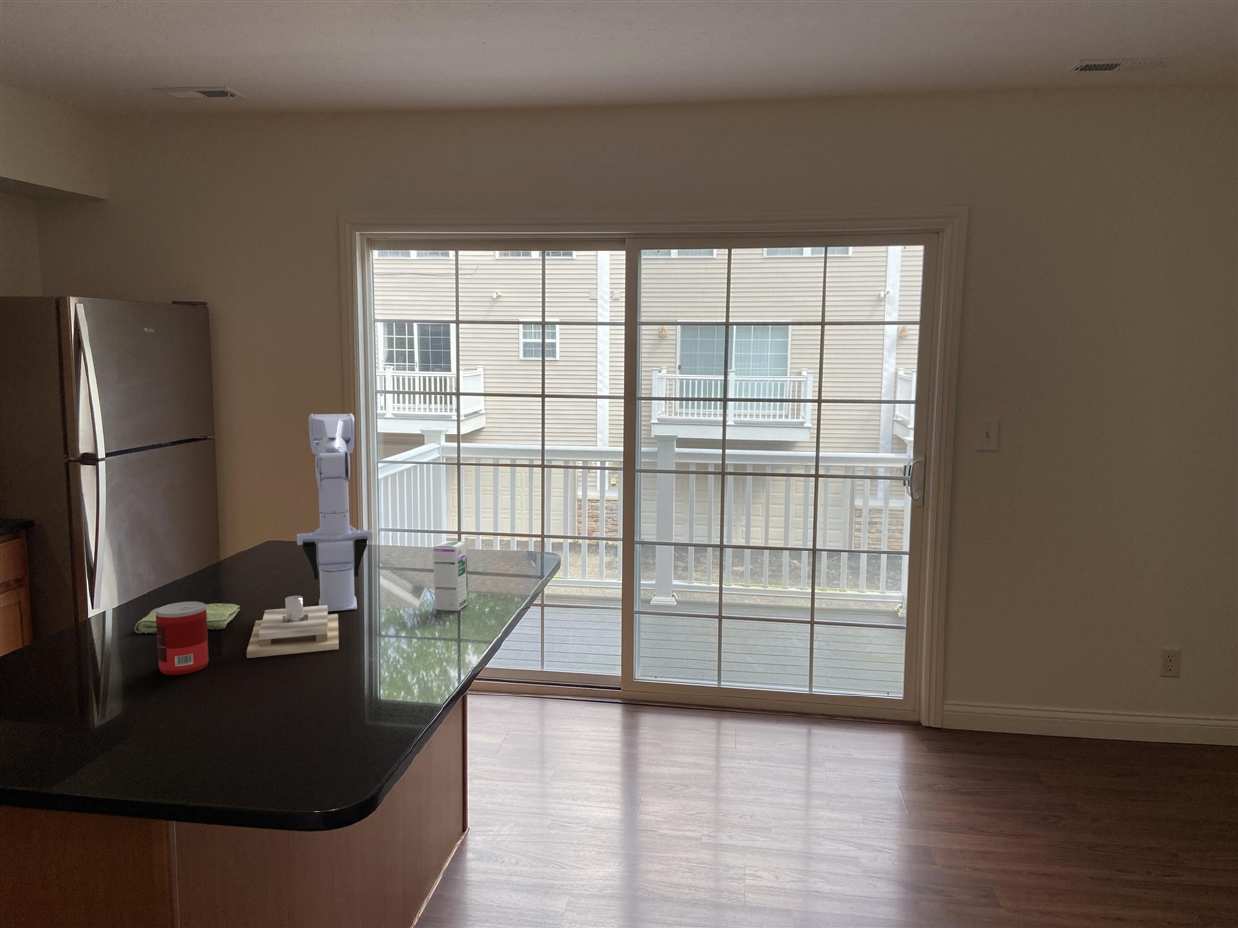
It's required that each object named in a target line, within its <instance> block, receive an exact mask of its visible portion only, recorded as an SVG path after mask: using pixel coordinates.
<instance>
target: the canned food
mask: <svg viewBox="0 0 1238 928" xmlns="http://www.w3.org/2000/svg"><path fill="white" fill-rule="evenodd" d="M157 608H158V609H157V610H156V630H157V633H156V642H157V656H158V658H157V659H158V669H159V671H160V672H161V673H162V674H164V675H169V676H179V675H188V674H191V673H195V672H198V671H199V672H200V670H203V669H204V668H206V667H207V666H208V664H209V659H210V658H209V657H210V656H209V655H210V653H209V636H208V635H209V633H208V632H209V631H208V630H207V613H206V604H205V603H204V602H200V601H181V602H174V603H169V604H166V605H163V606H161V607H157Z"/></svg>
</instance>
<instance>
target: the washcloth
mask: <svg viewBox="0 0 1238 928" xmlns="http://www.w3.org/2000/svg"><path fill="white" fill-rule="evenodd" d="M158 608H159V607H157V608H154V609H152V610H151V611H150V612H149V613H148V614H147V615H146V616H145V617H143V618H142V619H141V620H139V621H137V623H136V624H135V626H134V632H136V634H139V633H140V634H139V635H142V634H141V633H145V634H144V635H147V633H152V634H157V630H156V610H157V609H158ZM240 609H241V605H237V604H234V603H222V602H221V603H207V604H206V613H207V629H210V630H211V629H212V630H215V629H216V630H223V629H225V628H226V627H227V625H228V624H229V623H230V622H231V621H232V620H233V619H234V618H235V616H236V615H237V613H238V612H239V611H241V610H240Z"/></svg>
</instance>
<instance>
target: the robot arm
mask: <svg viewBox="0 0 1238 928" xmlns="http://www.w3.org/2000/svg"><path fill="white" fill-rule="evenodd" d="M355 430H356V429H355V415H353V413H351V412H350V413H331V414H330V413H329V414H328V413H327V414H321V413H319V414H318V413H317V414H315V413H311V414H310V415H309V416H308V433H309V434H308V435H309V440H310V444H309V445H310V449H311V451H312V452H311V453H312V454H314V455H315V476H316V477H315V478H316V481H317V490H318V491H319V492H318V507H319V508H318V509H319V513H318V514H319V527H318V528H316V529H315V530H314V532H307V533H306V532H305V533H296V544H297V546H301V545H302V550H303V552H304V554H305V555H306V558H307V559H308V561H309V563H310V566H311V568H312V572H313V576H314V580H319V592H320V593H319V594H320V595H319V596H320V598H319V600H318V606H323V605H327V606H328V612H336V611H348V610H349V611H350V610H357V609H358V604H357V596H355V577H359V570H360V565H361V562H362V558H363V556H364V554H365V551H366V549H367V547H368V542H369V541H370V542H371V541H373V540H374V538H373V529H366V530H365V529H356V527H354V526H352V525H350V524H351V523H350V503H349V502H350V501H349V500H350V499H349V495H350V494H349V480H350V479H351V478H350V477H351V461H350V459H351V457H350V454H351V453H353V452H354V448H355V438H356V437H355V436H356V435H355Z"/></svg>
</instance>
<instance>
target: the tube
mask: <svg viewBox="0 0 1238 928" xmlns="http://www.w3.org/2000/svg"><path fill="white" fill-rule="evenodd" d="M284 598H285V599H284V600H285V602H284V603H285V609H286V623H289V622H301V621H304V619H303V607H304V598H303V596H302V595H291V596H287V597H284Z"/></svg>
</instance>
